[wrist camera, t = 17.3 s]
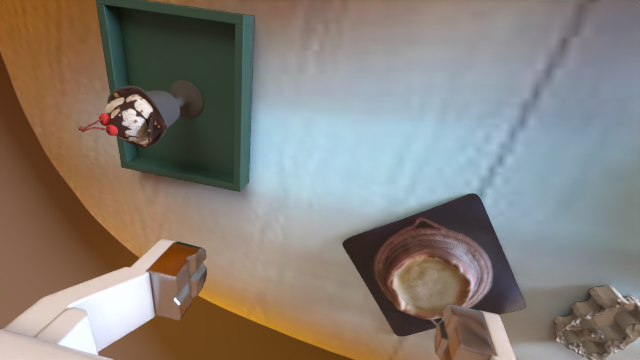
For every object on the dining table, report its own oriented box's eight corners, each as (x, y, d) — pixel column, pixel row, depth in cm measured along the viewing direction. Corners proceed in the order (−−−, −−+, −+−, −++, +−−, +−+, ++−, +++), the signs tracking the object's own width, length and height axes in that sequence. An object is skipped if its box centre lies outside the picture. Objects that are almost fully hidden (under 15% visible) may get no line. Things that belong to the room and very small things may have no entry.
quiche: (526, 306, 49) (537, 328, 45) (397, 335, 56) (397, 356, 52) (477, 190, 43) (485, 205, 39) (339, 239, 50) (335, 255, 47)
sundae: (153, 89, 44) (52, 117, 31) (189, 63, 42) (96, 82, 29) (183, 131, 46) (100, 175, 33) (219, 109, 44) (145, 147, 31)
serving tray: (115, -5, 41) (94, -7, 38) (254, 15, 39) (243, 15, 36) (136, 159, 51) (121, 167, 48) (249, 181, 49) (240, 192, 46)
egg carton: (602, 277, 45) (621, 299, 41) (648, 303, 45) (671, 328, 42) (542, 322, 50) (555, 346, 46) (584, 346, 50) (600, 371, 46)
